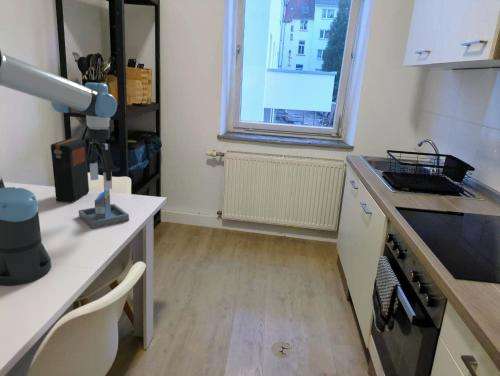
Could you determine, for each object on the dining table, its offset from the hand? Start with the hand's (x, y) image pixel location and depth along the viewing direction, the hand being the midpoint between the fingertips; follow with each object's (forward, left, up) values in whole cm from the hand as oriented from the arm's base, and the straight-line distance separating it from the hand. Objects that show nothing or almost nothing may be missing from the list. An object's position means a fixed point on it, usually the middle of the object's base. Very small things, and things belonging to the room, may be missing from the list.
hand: (101, 184), depth 141 cm
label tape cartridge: (0, 0, -14) cm, 14 cm away
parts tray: (0, 0, -14) cm, 14 cm away
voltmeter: (+30, +2, -14) cm, 33 cm away
